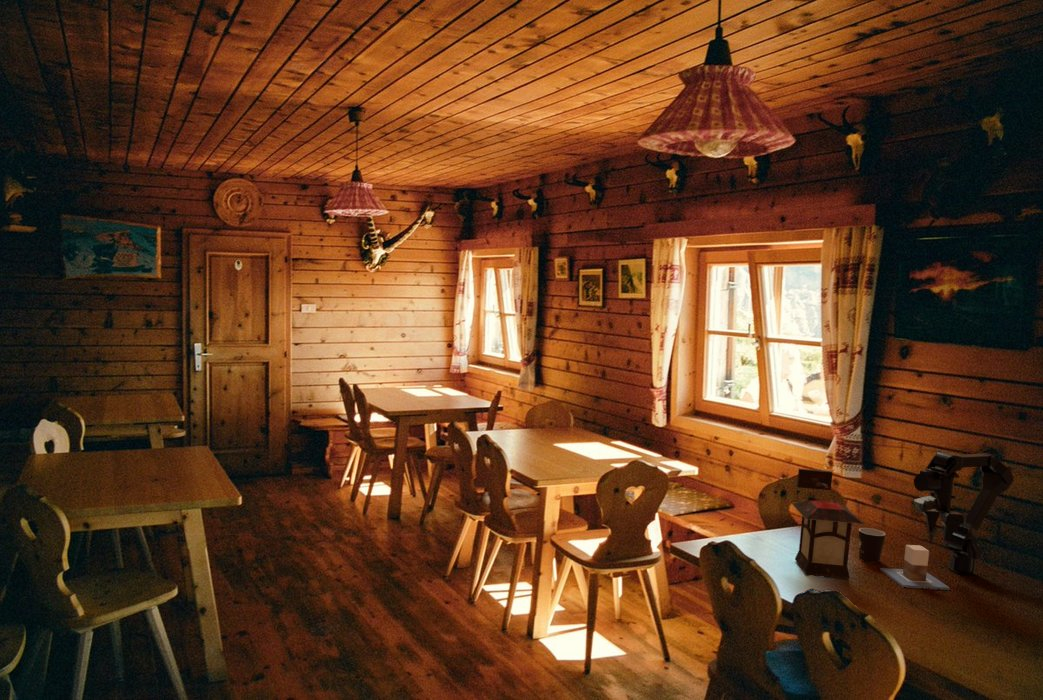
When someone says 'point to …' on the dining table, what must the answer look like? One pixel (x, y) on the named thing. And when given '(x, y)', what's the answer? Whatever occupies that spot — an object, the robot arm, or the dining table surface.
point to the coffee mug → (870, 544)
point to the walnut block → (914, 571)
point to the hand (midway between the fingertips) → (937, 536)
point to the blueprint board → (906, 582)
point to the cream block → (916, 555)
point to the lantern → (823, 529)
